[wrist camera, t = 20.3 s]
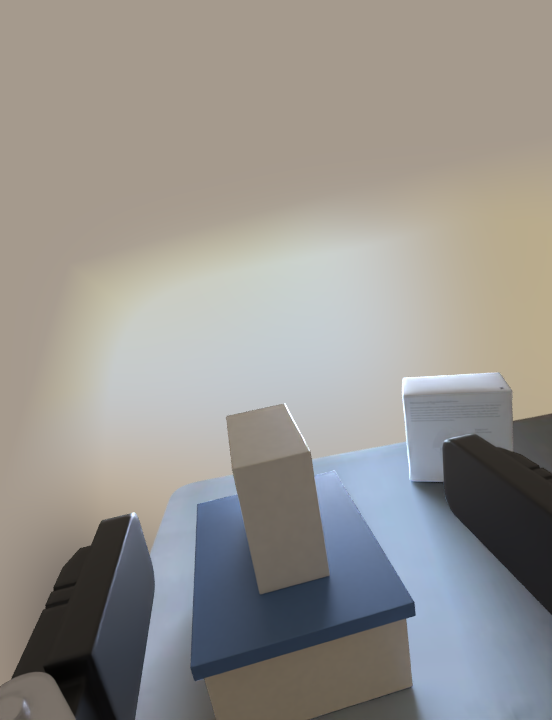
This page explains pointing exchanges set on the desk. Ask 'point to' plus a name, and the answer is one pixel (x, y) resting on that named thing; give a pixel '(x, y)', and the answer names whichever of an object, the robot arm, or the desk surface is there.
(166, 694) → the desk surface
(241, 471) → the white case
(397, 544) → the desk surface
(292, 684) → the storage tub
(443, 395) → the cosmetics box
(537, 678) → the desk surface
